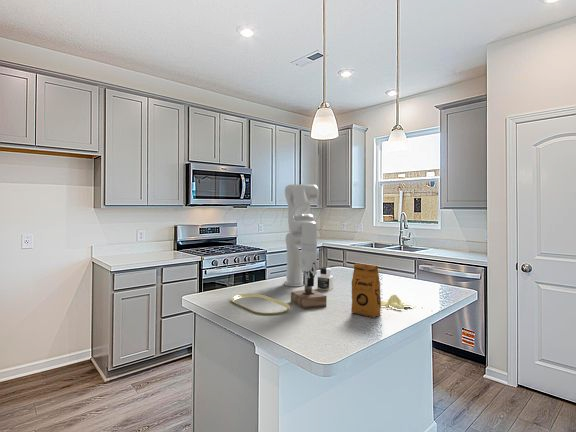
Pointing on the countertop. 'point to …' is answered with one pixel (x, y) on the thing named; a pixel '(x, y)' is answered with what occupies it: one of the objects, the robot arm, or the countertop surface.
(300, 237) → the robot arm
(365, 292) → the coffee package
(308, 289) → the pin
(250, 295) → the wavy rubber band
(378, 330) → the countertop surface
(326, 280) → the medicine bottle
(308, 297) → the bore block
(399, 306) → the cloth
